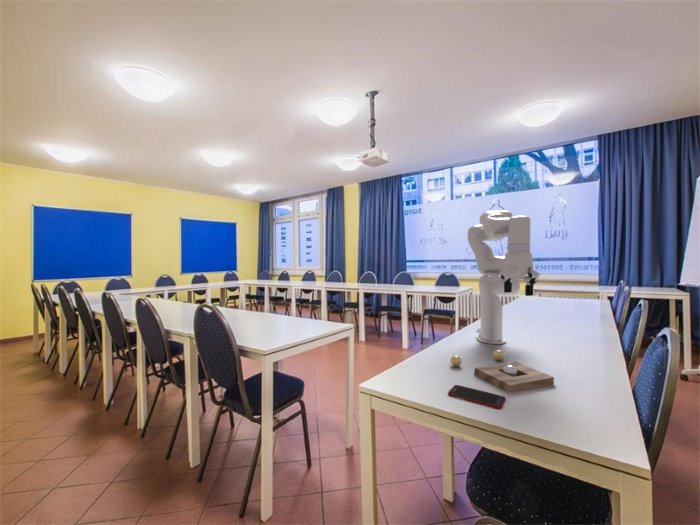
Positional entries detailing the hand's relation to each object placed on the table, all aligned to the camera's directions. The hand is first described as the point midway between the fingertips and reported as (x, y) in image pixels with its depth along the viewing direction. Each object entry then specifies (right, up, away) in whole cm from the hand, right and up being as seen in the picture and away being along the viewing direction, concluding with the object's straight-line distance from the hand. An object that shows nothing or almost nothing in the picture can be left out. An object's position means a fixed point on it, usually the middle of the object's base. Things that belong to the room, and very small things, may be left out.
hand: (518, 293), depth 118 cm
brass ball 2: (-6, -24, +3) cm, 25 cm away
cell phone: (-27, -28, -27) cm, 48 cm away
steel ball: (-11, -25, -14) cm, 30 cm away
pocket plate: (-10, -27, -15) cm, 33 cm away
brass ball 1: (-25, -25, -3) cm, 35 cm away
